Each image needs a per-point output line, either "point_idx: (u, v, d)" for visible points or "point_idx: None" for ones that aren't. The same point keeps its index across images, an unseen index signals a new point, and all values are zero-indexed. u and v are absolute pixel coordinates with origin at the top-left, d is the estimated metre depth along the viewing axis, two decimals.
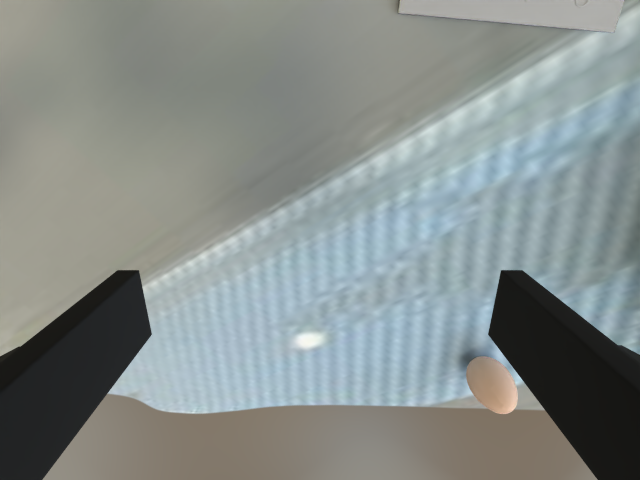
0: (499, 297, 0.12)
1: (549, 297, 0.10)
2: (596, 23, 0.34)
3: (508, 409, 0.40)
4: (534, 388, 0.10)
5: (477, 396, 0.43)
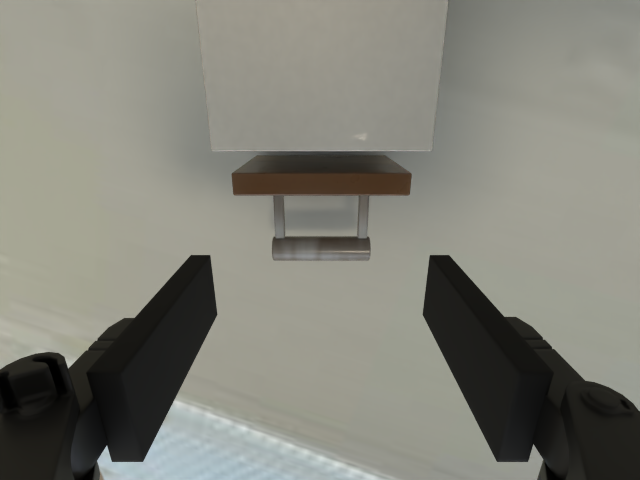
0: (429, 279, 0.14)
1: (461, 277, 0.12)
2: None
3: None
4: (447, 357, 0.12)
5: None
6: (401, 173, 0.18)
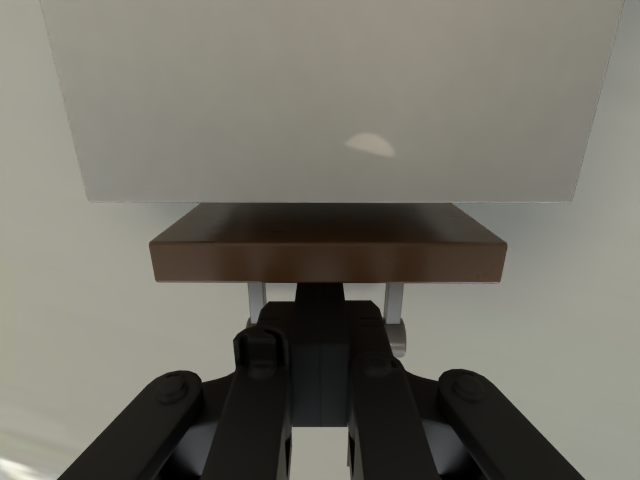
0: None
1: None
2: None
3: None
4: None
5: None
6: (487, 243, 0.09)
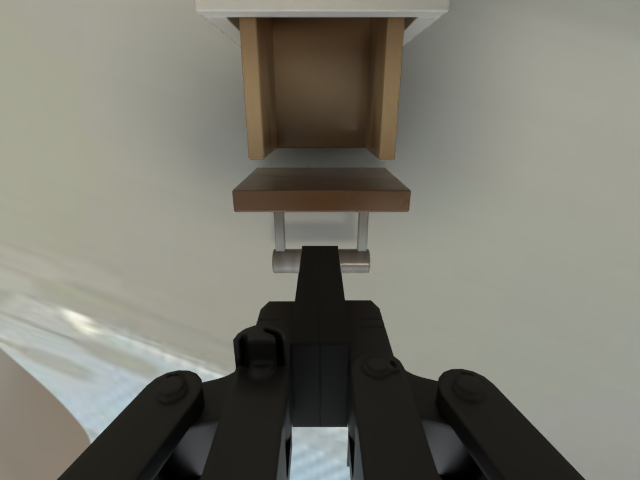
0: None
1: (333, 264, 0.13)
2: None
3: None
4: None
5: None
6: (400, 190, 0.18)
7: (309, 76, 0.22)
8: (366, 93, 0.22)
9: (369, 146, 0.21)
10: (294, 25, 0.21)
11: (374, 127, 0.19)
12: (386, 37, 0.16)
